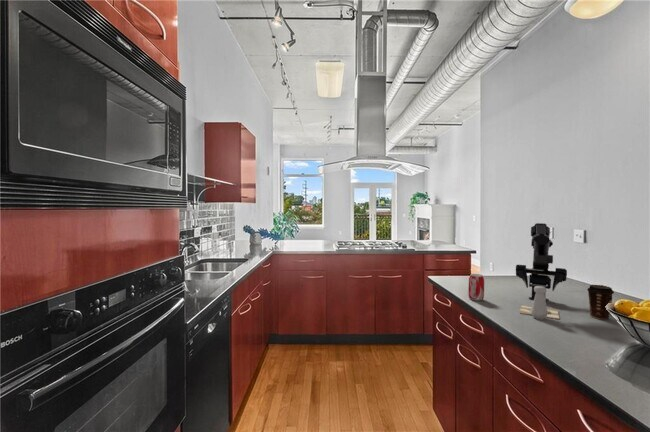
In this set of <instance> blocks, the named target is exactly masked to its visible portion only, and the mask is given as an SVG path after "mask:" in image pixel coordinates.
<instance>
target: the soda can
mask: <svg viewBox="0 0 650 432" xmlns="http://www.w3.org/2000/svg"><path fill="white" fill-rule="evenodd" d="M467 291H468V295H467V296H468V298H469V299H470V300H471V301H478V302H481V301H482V300H484V297H485V278H484V275H483V274H480V273H479V274H478V273H470V276H469V277H468V290H467Z"/></svg>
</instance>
